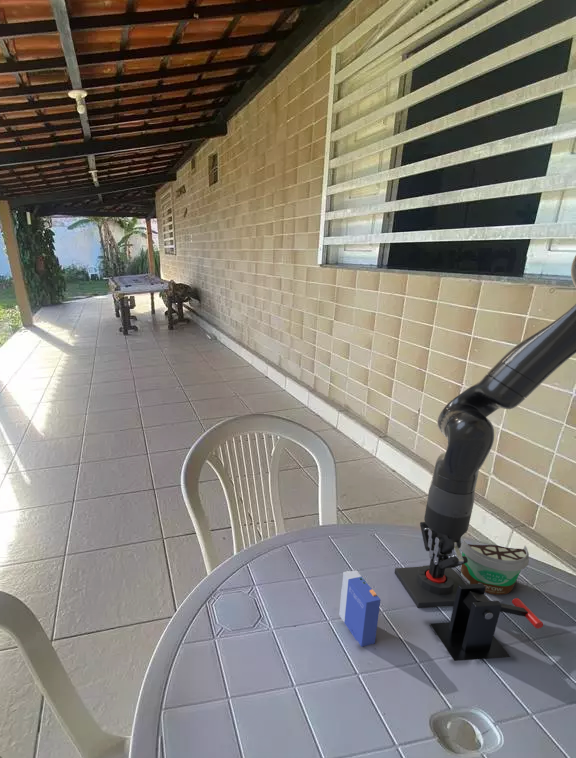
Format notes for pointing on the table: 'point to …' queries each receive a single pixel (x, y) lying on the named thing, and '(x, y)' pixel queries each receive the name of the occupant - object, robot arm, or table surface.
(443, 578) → the stop button
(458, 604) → the switch bracket
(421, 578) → the stop block
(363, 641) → the walkman
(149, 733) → the table surface
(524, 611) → the lever
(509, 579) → the food container
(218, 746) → the table surface
